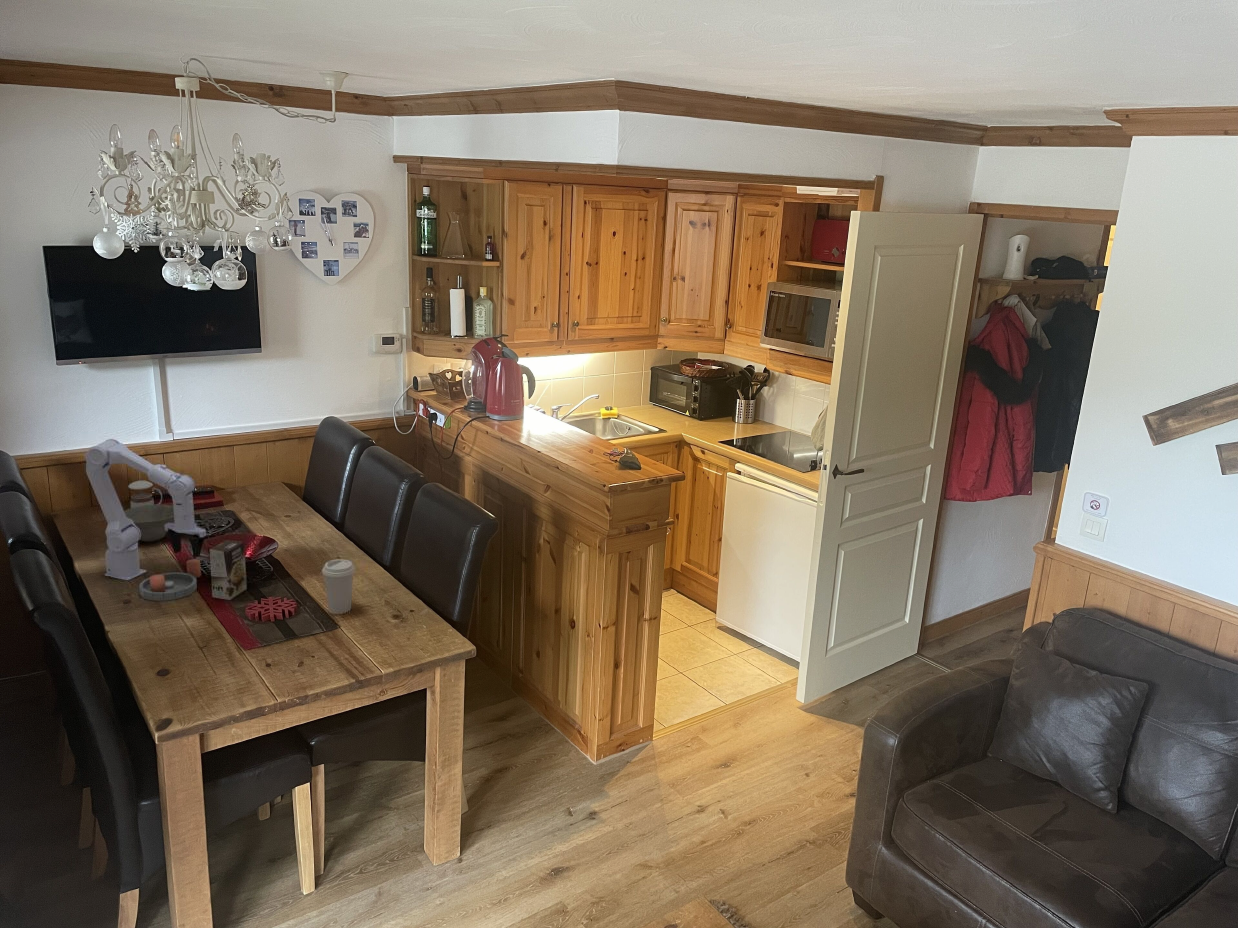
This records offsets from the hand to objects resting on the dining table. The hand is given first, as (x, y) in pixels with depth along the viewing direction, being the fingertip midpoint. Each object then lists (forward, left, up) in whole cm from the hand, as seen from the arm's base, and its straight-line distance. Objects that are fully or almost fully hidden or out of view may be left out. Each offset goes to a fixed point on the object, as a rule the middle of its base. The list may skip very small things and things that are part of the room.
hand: (187, 554), depth 292 cm
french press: (-51, +35, -9) cm, 63 cm away
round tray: (+1, -10, -8) cm, 13 cm away
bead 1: (+1, -14, -7) cm, 16 cm away
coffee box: (+19, -4, -9) cm, 21 cm away
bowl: (-35, +21, -9) cm, 42 cm away
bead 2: (0, +2, -8) cm, 9 cm away
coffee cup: (+56, 0, -9) cm, 56 cm away
